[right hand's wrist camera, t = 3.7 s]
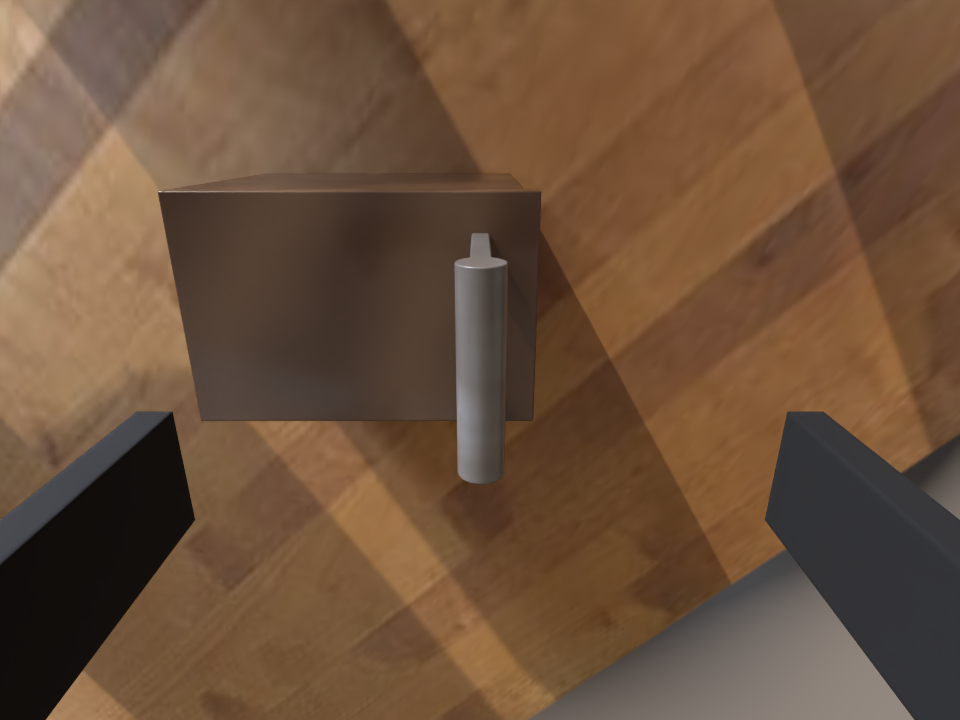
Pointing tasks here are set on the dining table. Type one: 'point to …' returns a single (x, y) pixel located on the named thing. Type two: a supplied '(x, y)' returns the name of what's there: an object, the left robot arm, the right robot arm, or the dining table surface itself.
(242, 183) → the chest
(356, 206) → the lid
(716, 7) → the dining table surface
